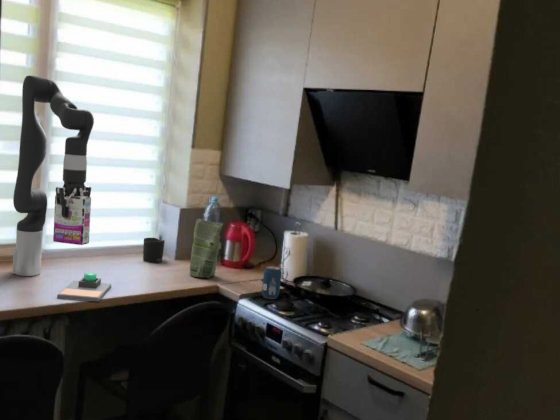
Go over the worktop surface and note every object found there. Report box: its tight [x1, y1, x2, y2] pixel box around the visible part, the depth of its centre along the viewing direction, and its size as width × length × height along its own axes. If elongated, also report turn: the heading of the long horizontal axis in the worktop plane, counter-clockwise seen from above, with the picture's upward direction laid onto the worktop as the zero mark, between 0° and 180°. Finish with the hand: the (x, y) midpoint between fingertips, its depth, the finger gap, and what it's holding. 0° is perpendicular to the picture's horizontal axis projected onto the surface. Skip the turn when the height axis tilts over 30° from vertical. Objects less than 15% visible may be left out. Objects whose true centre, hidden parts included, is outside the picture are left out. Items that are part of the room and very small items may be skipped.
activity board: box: [56, 276, 112, 302], centre depth 205 cm, size 14×19×3 cm
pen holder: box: [142, 237, 165, 264], centre depth 263 cm, size 9×9×10 cm
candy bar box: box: [52, 194, 92, 246], centre depth 196 cm, size 11×5×16 cm, turn 80°
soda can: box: [261, 265, 282, 300], centre depth 224 cm, size 7×7×12 cm
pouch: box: [189, 218, 224, 279], centre depth 244 cm, size 11×12×25 cm
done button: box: [83, 272, 98, 282], centre depth 210 cm, size 4×4×2 cm
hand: (72, 216), depth 196 cm, fingers closed on candy bar box, 5 cm apart
